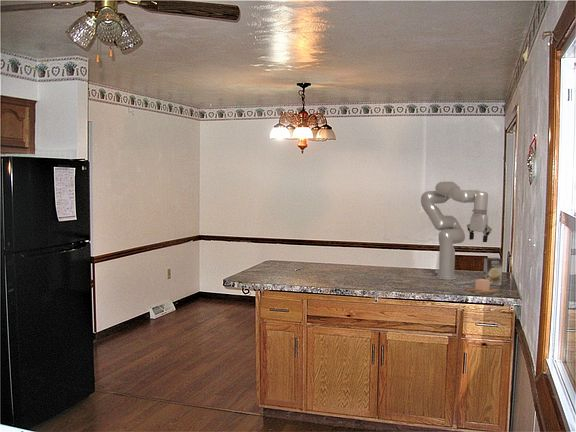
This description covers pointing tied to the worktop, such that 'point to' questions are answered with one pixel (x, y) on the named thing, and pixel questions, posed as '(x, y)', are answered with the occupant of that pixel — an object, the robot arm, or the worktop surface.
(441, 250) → the robot arm
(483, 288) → the cube
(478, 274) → the worktop surface
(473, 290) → the walnut board
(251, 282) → the worktop surface
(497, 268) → the coffee box
